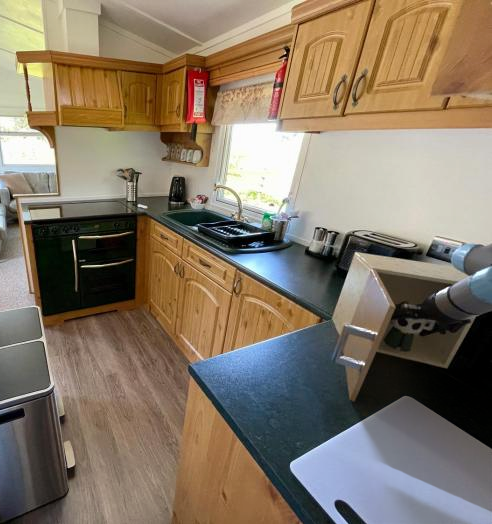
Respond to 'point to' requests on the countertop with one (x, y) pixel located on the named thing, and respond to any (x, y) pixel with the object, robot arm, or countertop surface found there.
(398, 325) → the character mug
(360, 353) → the cupboard door
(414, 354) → the cupboard
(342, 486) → the countertop surface
